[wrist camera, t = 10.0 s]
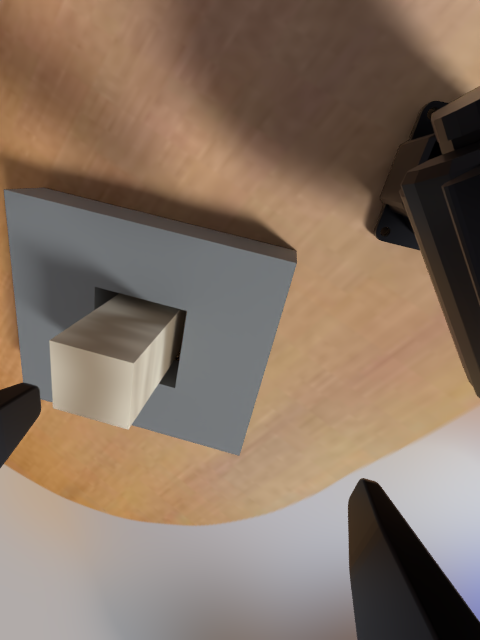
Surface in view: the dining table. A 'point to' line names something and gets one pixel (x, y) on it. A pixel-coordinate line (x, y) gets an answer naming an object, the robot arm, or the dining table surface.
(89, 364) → the square peg
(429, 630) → the robot arm
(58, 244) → the socket block
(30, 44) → the dining table surface
